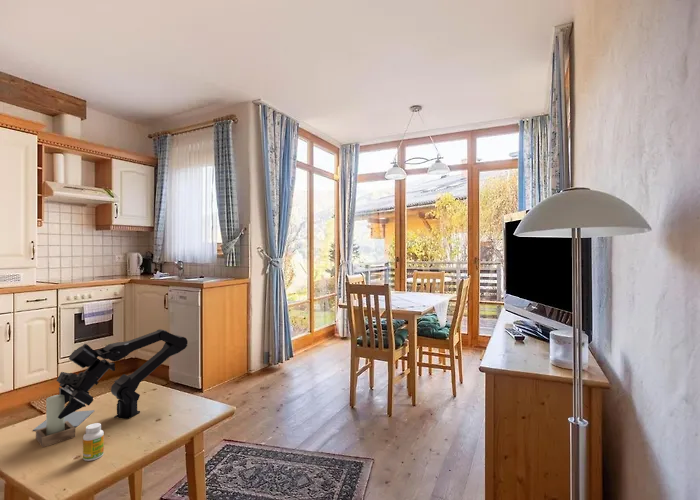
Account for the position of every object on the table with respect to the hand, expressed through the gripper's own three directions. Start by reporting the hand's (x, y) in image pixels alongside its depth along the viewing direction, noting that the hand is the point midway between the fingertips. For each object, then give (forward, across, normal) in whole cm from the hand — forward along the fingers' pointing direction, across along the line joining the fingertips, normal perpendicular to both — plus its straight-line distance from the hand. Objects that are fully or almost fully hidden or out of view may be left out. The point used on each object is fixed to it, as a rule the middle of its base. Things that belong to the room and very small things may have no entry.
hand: (55, 414), depth 130 cm
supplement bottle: (+3, +24, +9) cm, 26 cm away
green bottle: (+6, 0, +6) cm, 8 cm away
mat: (+1, -14, +10) cm, 17 cm away
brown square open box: (+6, 0, +6) cm, 8 cm away
